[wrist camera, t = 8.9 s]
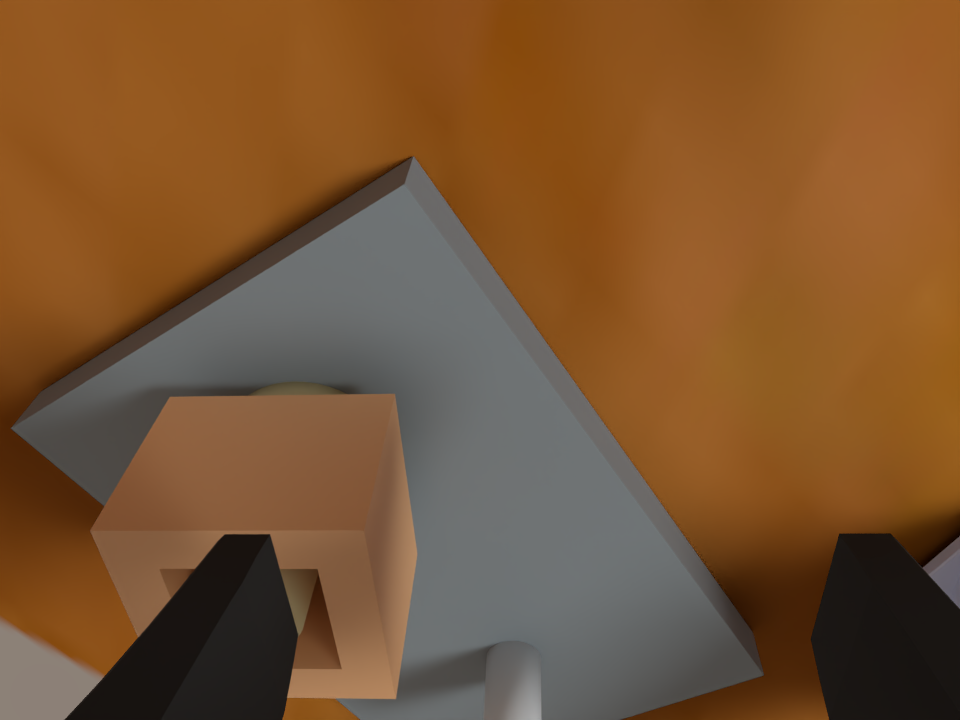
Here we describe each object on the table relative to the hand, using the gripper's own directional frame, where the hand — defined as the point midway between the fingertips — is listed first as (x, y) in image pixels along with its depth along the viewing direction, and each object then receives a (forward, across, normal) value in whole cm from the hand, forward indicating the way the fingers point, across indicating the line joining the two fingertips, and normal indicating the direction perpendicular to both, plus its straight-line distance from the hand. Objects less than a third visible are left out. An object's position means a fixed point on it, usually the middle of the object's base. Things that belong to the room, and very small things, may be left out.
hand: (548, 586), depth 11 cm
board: (+9, +3, +8) cm, 13 cm away
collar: (+7, +6, +4) cm, 10 cm away
